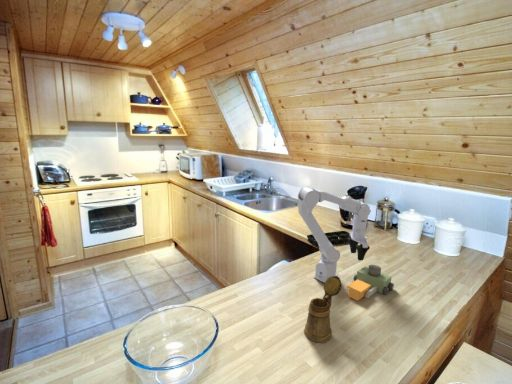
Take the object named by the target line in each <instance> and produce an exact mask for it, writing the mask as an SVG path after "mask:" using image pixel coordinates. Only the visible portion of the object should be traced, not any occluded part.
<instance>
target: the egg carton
mask: <svg viewBox="0 0 512 384" xmlns="http://www.w3.org/2000/svg"><path fill="white" fill-rule="evenodd" d="M324 234H325V235H326V237H327V238H328V240H329V241H330V243H331V244H332V245H333V246H334V245H339V244H347V243H349V241H348V239H347V238H350V237H351V236H350V231H349V232H348V231H346V230H338V231H331V232H324ZM306 238H307V241H308V242H309V243H312V245H313V246H314V247H318V248H319V245H318V242H317V241H316V239H315V238H314V236H313V235H312V233H311V234H308V235H306Z"/></svg>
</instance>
